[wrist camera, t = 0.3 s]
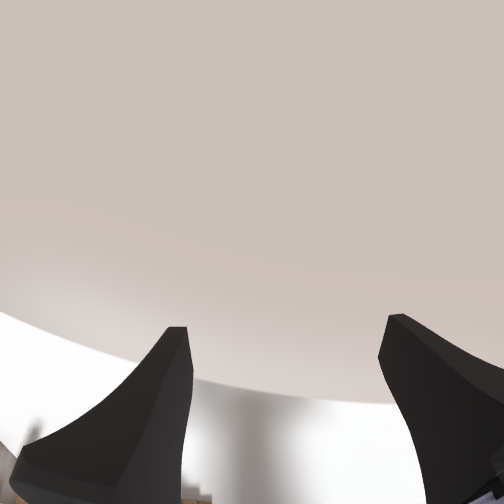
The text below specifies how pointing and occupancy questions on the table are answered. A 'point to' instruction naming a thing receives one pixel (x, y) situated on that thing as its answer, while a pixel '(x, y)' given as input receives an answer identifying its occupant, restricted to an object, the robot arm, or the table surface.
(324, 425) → the table surface
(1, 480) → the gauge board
